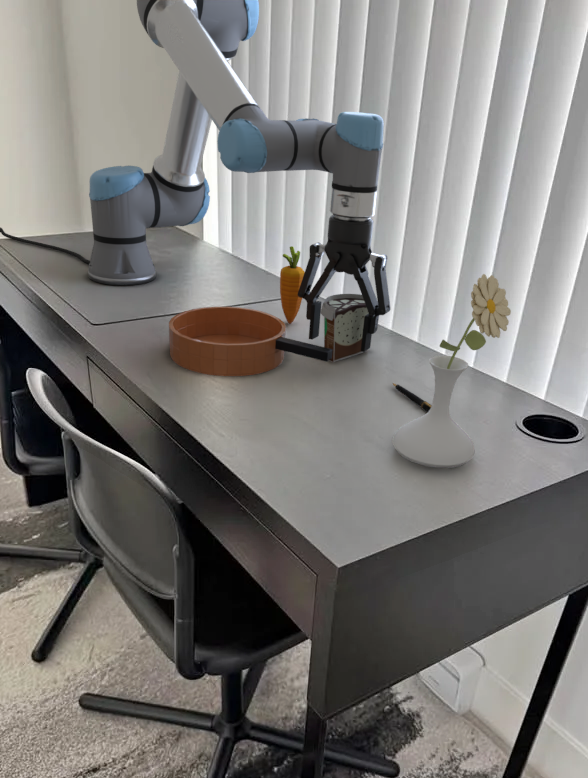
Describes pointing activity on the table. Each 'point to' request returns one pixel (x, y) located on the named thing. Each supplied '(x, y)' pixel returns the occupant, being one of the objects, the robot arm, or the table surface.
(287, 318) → the carrot
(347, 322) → the food container
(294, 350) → the pan handle
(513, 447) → the table surface
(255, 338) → the pan
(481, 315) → the flower in vase
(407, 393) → the fountain pen
